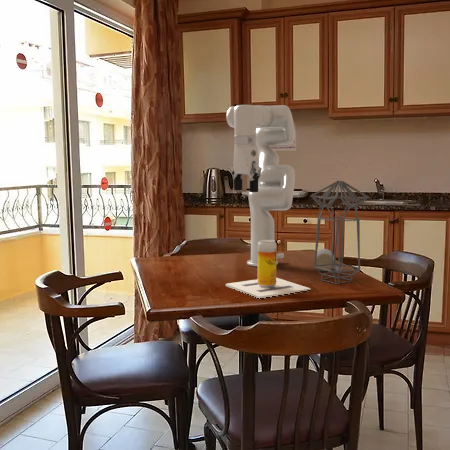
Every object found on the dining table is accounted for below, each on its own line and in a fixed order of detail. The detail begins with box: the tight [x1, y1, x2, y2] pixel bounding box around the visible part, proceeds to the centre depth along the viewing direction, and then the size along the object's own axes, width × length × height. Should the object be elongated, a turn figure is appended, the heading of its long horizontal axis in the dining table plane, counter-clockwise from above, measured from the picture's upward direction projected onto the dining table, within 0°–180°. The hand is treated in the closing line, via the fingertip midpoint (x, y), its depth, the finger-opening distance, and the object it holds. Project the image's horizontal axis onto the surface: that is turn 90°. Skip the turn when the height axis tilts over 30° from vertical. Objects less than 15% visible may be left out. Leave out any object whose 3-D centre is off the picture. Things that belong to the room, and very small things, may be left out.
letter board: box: [225, 277, 311, 300], centre depth 173 cm, size 20×20×1 cm
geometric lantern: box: [310, 180, 371, 285], centre depth 182 cm, size 16×16×35 cm
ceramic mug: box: [316, 248, 344, 273], centre depth 201 cm, size 11×8×8 cm
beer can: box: [257, 239, 277, 288], centre depth 172 cm, size 6×6×15 cm
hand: (245, 191), depth 184 cm, fingers open, 9 cm apart
